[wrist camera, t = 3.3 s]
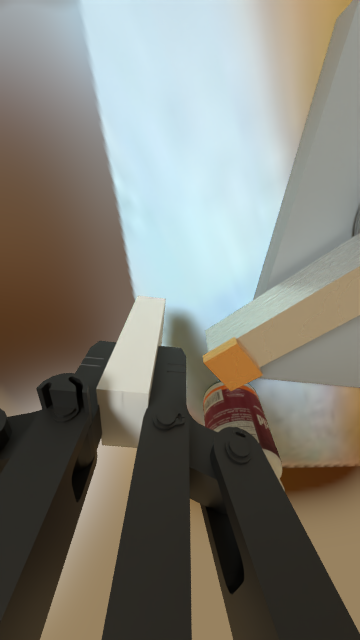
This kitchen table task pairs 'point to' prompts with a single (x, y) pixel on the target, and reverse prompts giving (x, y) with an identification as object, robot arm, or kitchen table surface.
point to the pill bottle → (241, 417)
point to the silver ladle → (287, 315)
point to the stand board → (322, 207)
